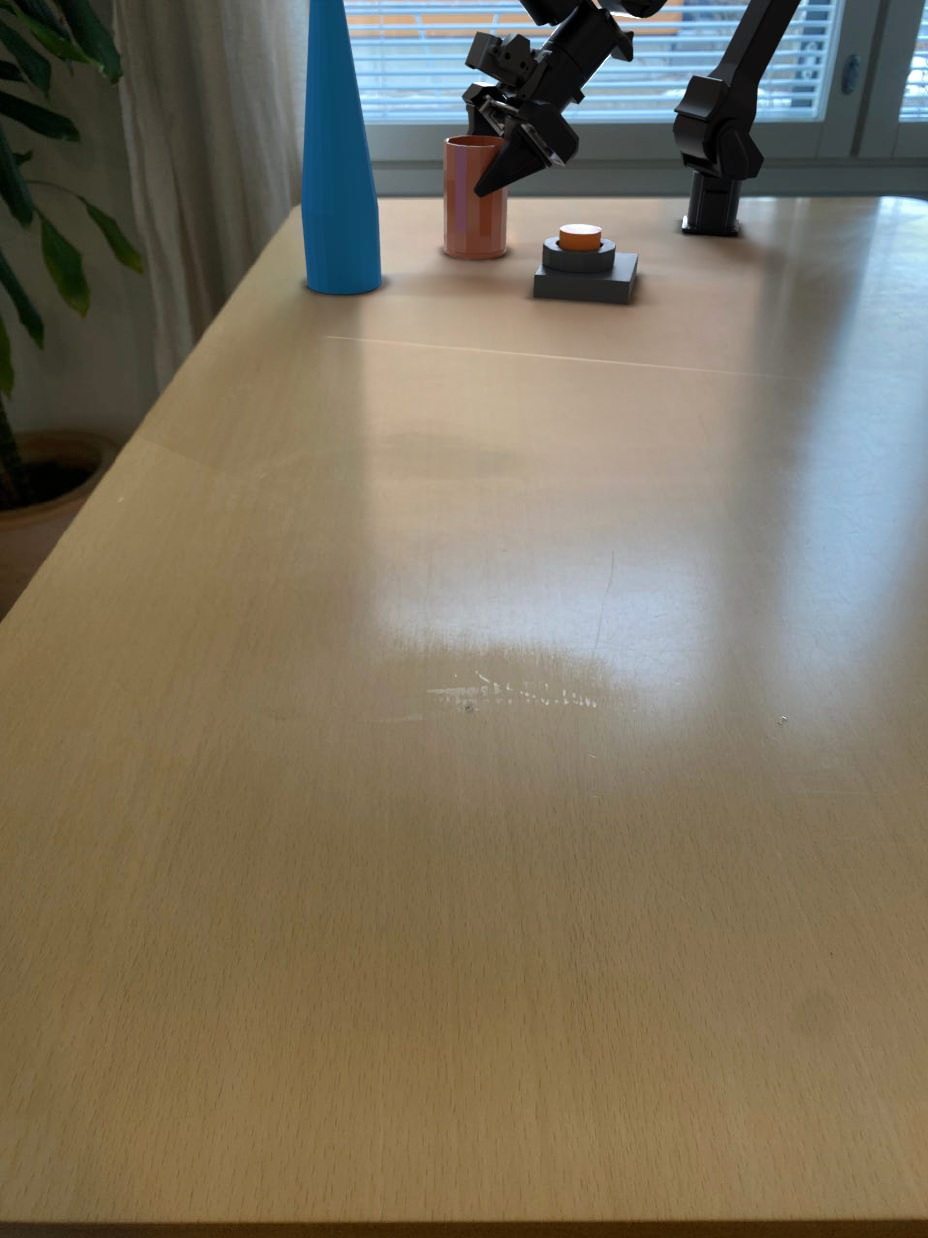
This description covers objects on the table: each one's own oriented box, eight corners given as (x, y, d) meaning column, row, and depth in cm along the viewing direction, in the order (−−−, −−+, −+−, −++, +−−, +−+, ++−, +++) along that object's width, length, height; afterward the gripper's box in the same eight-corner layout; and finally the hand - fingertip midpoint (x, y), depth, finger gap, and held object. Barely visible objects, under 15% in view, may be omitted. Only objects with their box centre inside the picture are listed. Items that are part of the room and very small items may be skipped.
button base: (549, 269, 98) (551, 228, 96) (636, 275, 97) (640, 234, 94) (533, 297, 90) (535, 254, 88) (627, 305, 89) (632, 261, 86)
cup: (436, 245, 106) (435, 136, 99) (494, 241, 107) (497, 133, 101) (454, 261, 100) (454, 147, 94) (514, 256, 102) (518, 144, 96)
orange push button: (561, 241, 94) (563, 222, 92) (602, 244, 93) (603, 225, 92) (555, 251, 90) (556, 232, 89) (597, 254, 90) (599, 235, 89)
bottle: (370, 296, 90) (352, -104, 73) (297, 291, 91) (262, -105, 74) (389, 275, 96) (376, -100, 79) (320, 271, 97) (292, -100, 80)
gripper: (480, -8, 98) (383, 116, 102) (558, 2, 84) (443, 145, 87) (544, 76, 105) (452, 190, 109) (626, 98, 91) (517, 228, 94)
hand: (463, 187), depth 100 cm, fingers closed on cup, 7 cm apart
